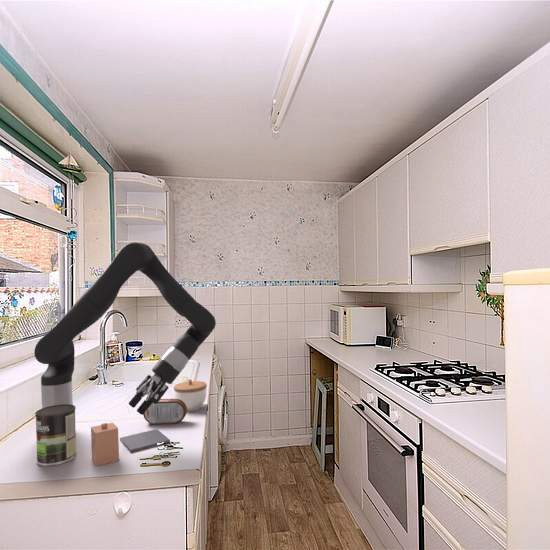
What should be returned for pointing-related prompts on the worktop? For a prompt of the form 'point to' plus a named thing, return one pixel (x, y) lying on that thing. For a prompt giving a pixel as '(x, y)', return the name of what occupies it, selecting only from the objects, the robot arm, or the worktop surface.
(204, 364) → the worktop surface
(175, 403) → the tin
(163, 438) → the plate
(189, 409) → the lidded bowl
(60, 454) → the coffee can
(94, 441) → the tan upright box
